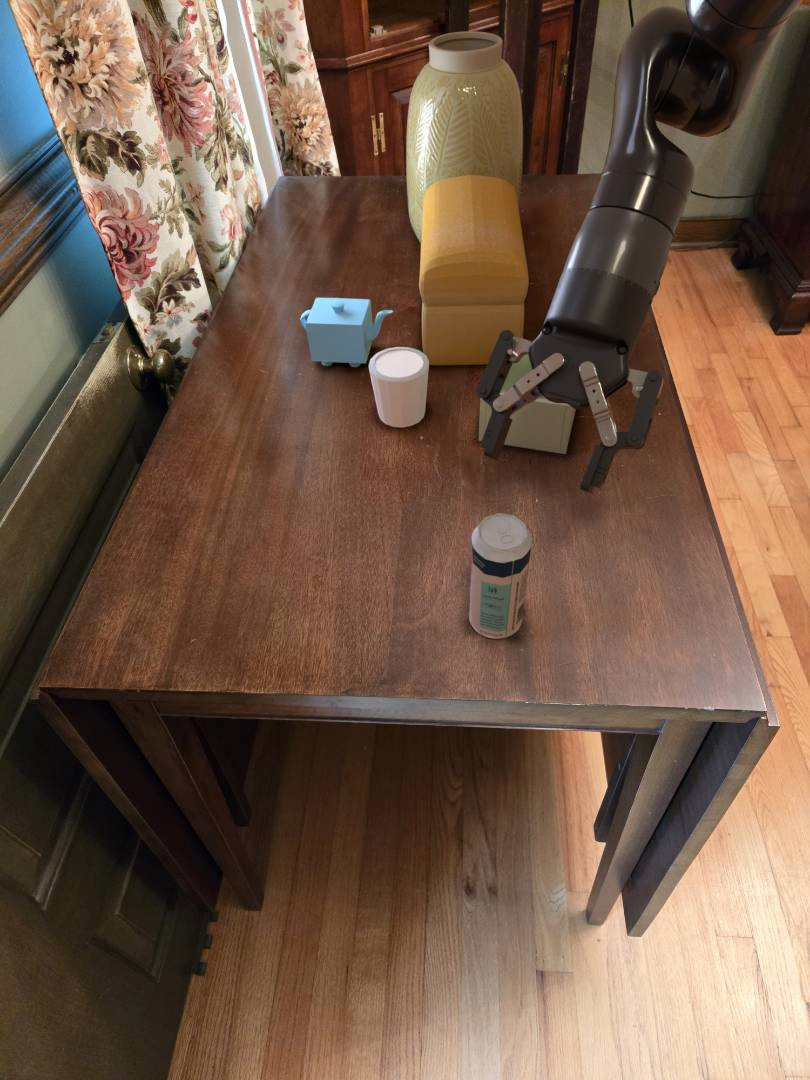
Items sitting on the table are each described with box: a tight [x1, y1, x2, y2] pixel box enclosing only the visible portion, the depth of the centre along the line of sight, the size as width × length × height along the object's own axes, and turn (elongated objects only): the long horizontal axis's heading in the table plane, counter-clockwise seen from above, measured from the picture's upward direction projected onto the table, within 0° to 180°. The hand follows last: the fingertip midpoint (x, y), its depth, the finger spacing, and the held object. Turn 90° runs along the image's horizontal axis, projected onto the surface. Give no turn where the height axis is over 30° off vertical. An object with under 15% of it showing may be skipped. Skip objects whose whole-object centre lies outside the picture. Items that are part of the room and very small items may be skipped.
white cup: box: [368, 346, 430, 428], centre depth 84 cm, size 7×7×7 cm
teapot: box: [300, 297, 394, 368], centre depth 93 cm, size 12×6×8 cm, turn 82°
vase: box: [405, 30, 524, 245], centre depth 105 cm, size 17×17×27 cm
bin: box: [478, 354, 577, 455], centre depth 82 cm, size 10×10×7 cm
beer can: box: [468, 512, 533, 640], centre depth 62 cm, size 5×5×12 cm
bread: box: [418, 175, 530, 366], centre depth 95 cm, size 24×13×15 cm, turn 178°
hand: (537, 474), depth 60 cm, fingers open, 8 cm apart
